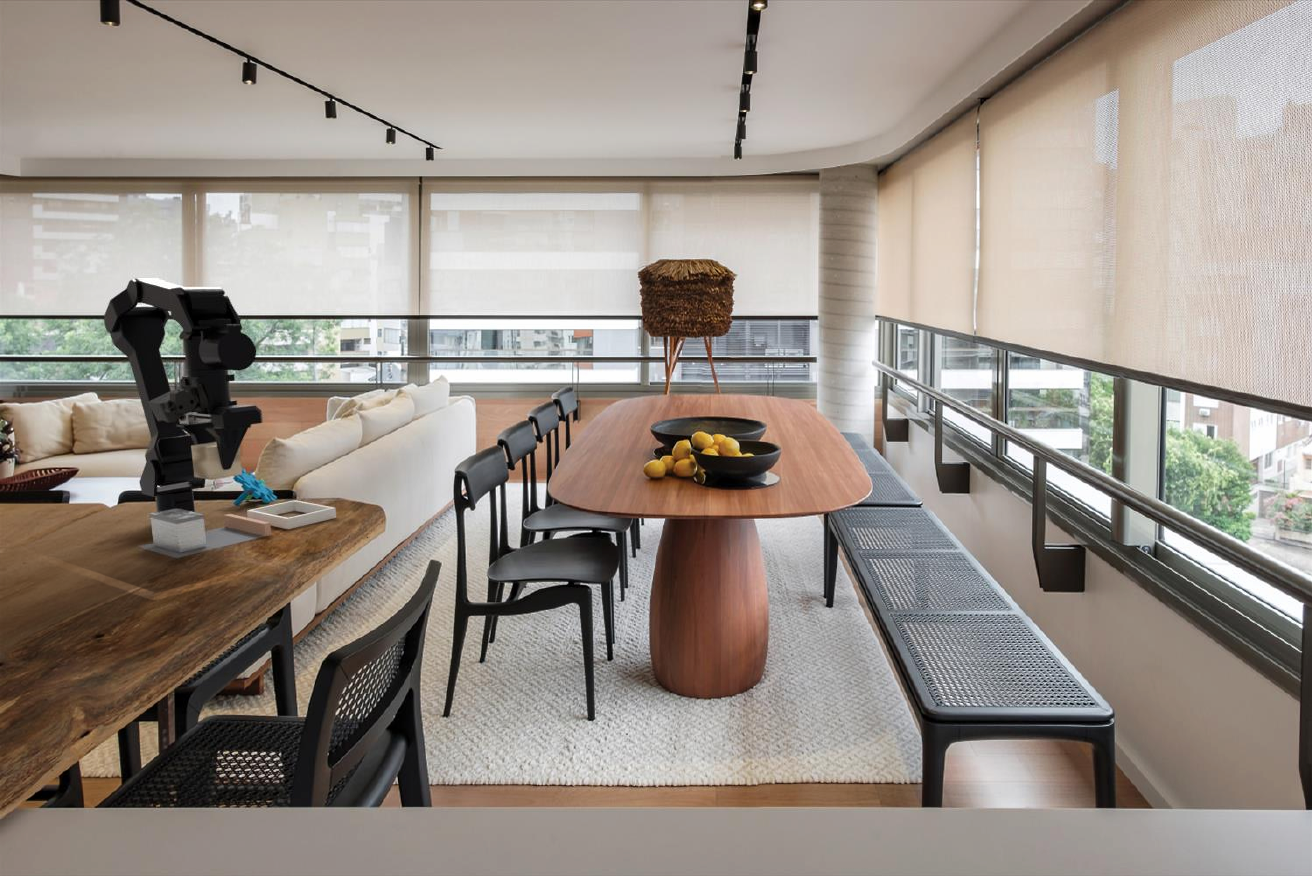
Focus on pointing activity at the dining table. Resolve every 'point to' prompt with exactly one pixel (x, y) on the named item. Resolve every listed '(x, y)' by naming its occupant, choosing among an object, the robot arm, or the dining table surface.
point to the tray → (313, 516)
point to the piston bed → (223, 535)
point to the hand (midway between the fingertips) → (217, 468)
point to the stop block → (212, 462)
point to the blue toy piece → (253, 488)
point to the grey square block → (178, 530)
